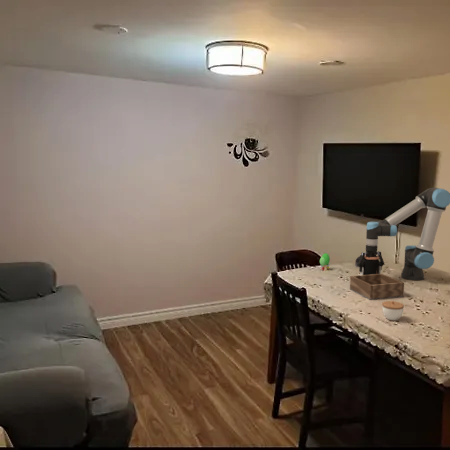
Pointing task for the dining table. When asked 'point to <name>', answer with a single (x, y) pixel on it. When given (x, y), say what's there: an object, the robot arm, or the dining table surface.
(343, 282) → the dining table surface
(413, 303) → the dining table surface
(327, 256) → the green toy tree
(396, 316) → the lidded jar
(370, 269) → the coffee jar
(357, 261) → the crystal cluster
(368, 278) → the open wooden box
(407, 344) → the dining table surface
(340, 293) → the dining table surface
